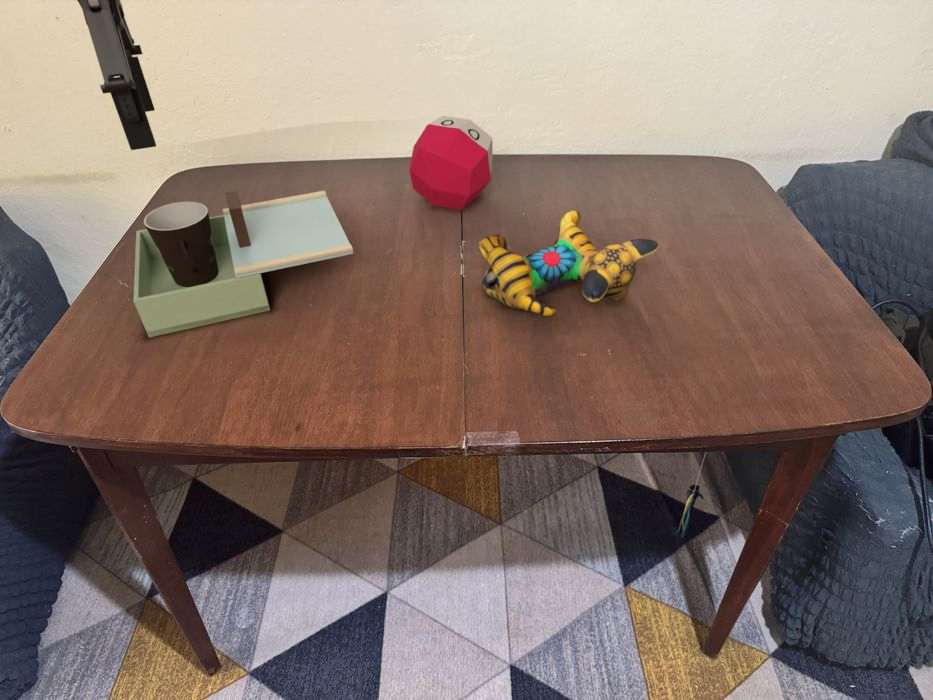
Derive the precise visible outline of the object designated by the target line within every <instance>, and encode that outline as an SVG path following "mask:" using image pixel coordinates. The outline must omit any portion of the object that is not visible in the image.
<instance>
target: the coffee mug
mask: <svg viewBox="0 0 933 700" xmlns="http://www.w3.org/2000/svg"><path fill="white" fill-rule="evenodd" d="M209 217H210V215H209V209H208V207H207V206H206V205H205V204H203V203H201V202H197V201H179V202H171V203H168V204H165V205H161V206H159V207H157V208H155V209H153V210H151V211H150V212H149V213H147V214H146V215H145V217H144V218H143V225H144V227H145V229H147V230H148V232H149V234H150V236H151V238H152V240H153V242H154V244H155V245H156V247H157V249H158V251H159V253H160V255H161V257H162V259H163V260H164V262H165V264H166V266H167V268H168V270H169V272H170V274H171V276H172V277H173V279H174V281H175V283H176V284H177V285H179V286H182V287H193V286H198V285H203V284H207V283H209V282H211V281H212V280H214V279H215V278H216V277H217V275H218V266H217V260H216V254H215V248H214V243H213V237H212V231H211V225H210V220H209Z"/></svg>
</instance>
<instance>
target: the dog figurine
mask: <svg viewBox="0 0 933 700" xmlns="http://www.w3.org/2000/svg"><path fill="white" fill-rule="evenodd" d="M581 217H582V216H581V213H580V212H579V211H577V210H570V211H568V212H566V213H565V214H564V216H563V217H562V218H561V220H560V223H559V227H558V230H559V231H558V237H557V239H556V240H555V242H554V244H553V245H552V246H549V247H545V248H542V249H540V250H538V251H536V252H534V253H530V254H526V255H524V256H522V255H519V254H517V253H514V252H512V249H511V247H510V244H509V243H507V241H506V238H505V236H504V235H502V234H493V235H489V236H486V237H484V238H482V239H480V240H479V241H478V248H479V252H480V254H481V256H482V257H483V259H484V260H485V262H486V263H487V264H488V265H489V266H490V267H489V268H488V269H487V271H485V273H484V275H483V277H482V279H481V282H480V283H481V288H483V289H484V291H485V294H487V295H488V296H489V297H490V298H492V299H494V300H496V301H498V302H500V303H502V304H503V305H504V306H505V307H507V308H508V309H515V310H524V311H527V312H528V311H530V312H532V313H535V314H538V315H542V316H544V317H551V316H554V315H555V314H556V313H557V309H556V307H553V306H550V305H547V304H545V303H543V302H540V301H539V299H538V298H539V297H542V296H545V295H548V294H551V293H553V292H555V291H556V290H559V289H562V288H564V287H565V286H567V285H570V284H575V283H582V284H581V293H582V296H583V297H584V298H585V300H587V301H588V302H590V303H596V302H599V301H601V299H603V298H604V299H605V298H608V299H609V300H611V301H613V302H616V303H617V302H619V301H620V300H623V299H624V298H625V297H626V296H627V295H628V293H629V291H628V287H629V286H630V285H631V284H632V282H633V281H634V279H635V276H636V271H637V270H636V269H637V267H636V266H637V262H638V261H639V260H641V259H643V258H645V257H647V256H650V255H652V254H655V252H656V251H658V250H659V248H660V243H659V242H658V241H657V240H654V239H646V238H634V239H629V240H627V241H625V242H622V243H617V244H616V243H615V244H609V245H607V246H605V247H603V248H600V249H597V248H596V246H595V245H594V244H593V242H592V241H591V239H590V238H588V236H587V235H586V234H585V232H583V230H582V229H581V228H580V227H579V225H580V222H581V219H582V218H581Z"/></svg>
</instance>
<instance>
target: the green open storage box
mask: <svg viewBox="0 0 933 700" xmlns="http://www.w3.org/2000/svg"><path fill="white" fill-rule="evenodd" d="M209 220H210V225H211V231H212V237H213V243H214V248H215V254H216V260H217V266H218V275H217V277H216V278H215V279H214V280H212V281H211V282H209V283H207V284H203V285H198V286H193V287H182V286H179V285H177V284H176V283H175V281H174V279H173V277H172V276H171V274H170V272H169V270H168V268H167V266H166V264H165V262H164V260H163V259H162V257H161V255H160V253H159V251H158V249H157V247H156V245H155V244H154V242H153V240H152V238H151V236H150V234H149V232H148V230H147V228H144V229H139V230H135V232H136V233H135V254H134V278H133V279H134V280H133V304H134V306H135V309H136V311H137V313H138V316H139V317H140V320H141V323H142V325H143V328H144V329H145V331H146V334H147V336H148V338H153V337H156V336H162V335H167V334H170V333H176V332H179V331H183V330H189V329H193V328H198V327H202V326H206V325H211V324H216V323H220V322H224V321H228V320H229V321H230V320H233V319H237V318H241V317H246V316H251V315H255V314H256V315H257V314H260V313H264V312H269V311H271V308H270V304H269V300H268V295H267V293H266V287H265V284H264V280H263V277H262V273H258V274H253V275H249V276H244V277H239V278H236V276H235V273H234V266H233V261H232V256H231V250H230V245H229V240H228V235H227V230H226V224H225V219H224V214H220V215H215V216H209Z"/></svg>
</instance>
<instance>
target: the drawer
mask: <svg viewBox="0 0 933 700" xmlns="http://www.w3.org/2000/svg"><path fill="white" fill-rule="evenodd" d="M225 199H226V203H227V207H226V208H222V215H224V219H225V224H226V230H227V235H228V240H229V245H230V250H231V256H232V261H233V266H234V273H235V276H236V278H239V277H244V276H249V275H253V274H258V273H261V274H262V273H267V272H268V273H269V272H273V271H277V270H282V269H287V268H291V267H296V266H301V265H305V264H311V263H315V262H320V261H324V260H329V259H334V258H340V257H344V256H348V255H353V254H354V248H353V246H352V244H351V243H350V241H349V239H348V236H347V235H346V232H345V230H344V228H343V227H342V224H341V222H340V220H339V218H338V217H337V214H336V212H335V210H334V208H333V206H332V204H331V201H330V200H329V198H328V196H327V192H326V190H319V191H315V192H309V193H308V192H307V193H303V194H297V195H292V196H287V197H281V198H275V199H270V200H264V201H259V202H253V203H248V204H242V205H241V201H240V196H239V193H238V190H231V191H230V190H229V191H226V192H225Z"/></svg>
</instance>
